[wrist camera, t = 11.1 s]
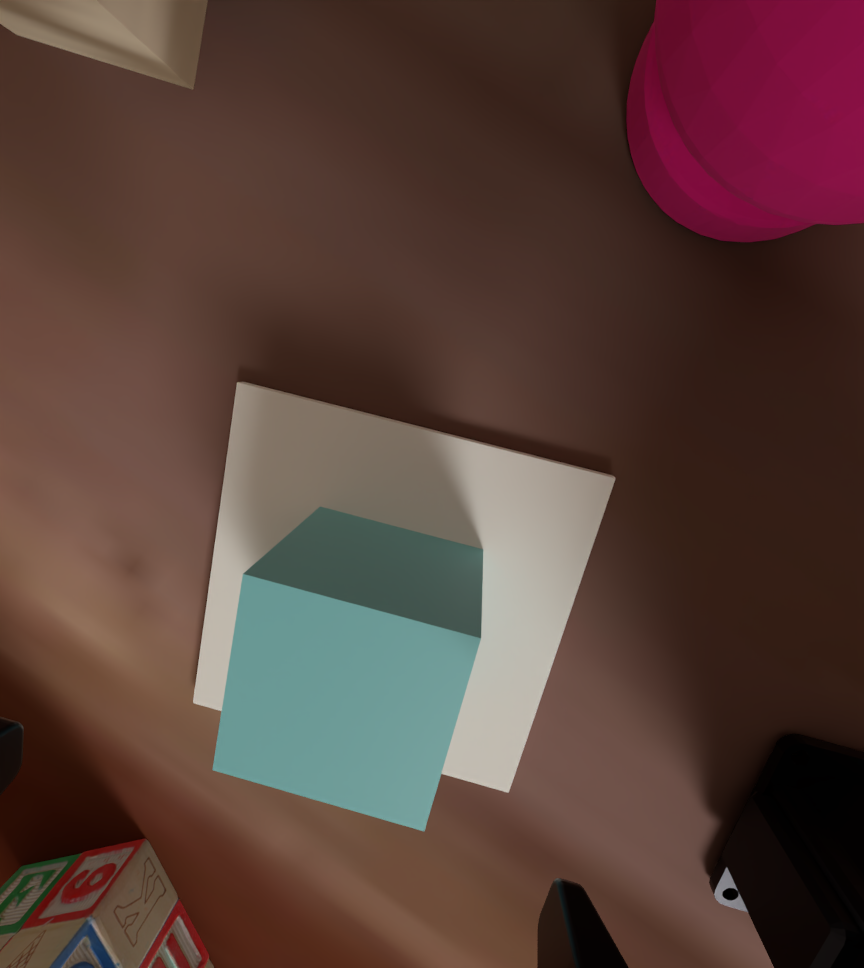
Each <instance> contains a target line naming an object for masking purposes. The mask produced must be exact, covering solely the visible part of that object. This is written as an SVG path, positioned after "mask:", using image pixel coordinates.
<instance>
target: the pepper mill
mask: <svg viewBox="0 0 864 968" xmlns="http://www.w3.org/2000/svg"><path fill="white" fill-rule="evenodd" d="M626 122H627V136H628V142H629V147H630V151H631V156H632V159H633V162H634V165H635V168H636V171H637V174H638V176H639V178H640V180H641V182H642V184H643V186H644V187H645V189H646V190H647V192H648V193H649V195H650V196H651V198H652V199H653V200H654V201H655V202H656V204H657V205H658V206H659V207H660V208H661V209H662V211H664V212H665V213H666V214H667V215H668V216H670V217H671V218H672V219H673V220H675V221H676V222H677V223H679V224H681V225H683V226H684V227H686V228H688V229H690V230H692V231H694V232H696V233H698V234H700V235H703V236H707V237H710V238H714V239H717V240H720V241H732V242H757V241H764V240H772V239H777V238H780V237H783V236H786V235H789V234H792V233H795V232H798V231H801V230H803V229H806V228H808V227H810V226H813V225H815V224H827V225H845V224H858V223H864V0H656V7H655V17H654V22H653V24H652V26H651V28H650V30H649V32H648V34H647V36H646V38H645V40H644V42H643V45H642V47H641V50H640V52H639V55H638V57H637V60H636V63H635V66H634V69H633V73H632V76H631V80H630V86H629V92H628V98H627V118H626Z"/></svg>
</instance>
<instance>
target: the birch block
mask: <svg viewBox="0 0 864 968" xmlns="http://www.w3.org/2000/svg"><path fill="white" fill-rule="evenodd" d="M207 2H208V0H0V24H1V25H3V26H4V27H6V28H7V29H9V30H10V31H12V32H13V33H14V34H16V35H18V36H22V37H25V38H28V39H31V40H35V41H38V42H41V43H44V44H48V45H51V46H54V47H57V48H60V49H64V50H67V51H70V52H73V53H77V54H80V55H83V56H86V57H89V58H93V59H96V60H99V61H102V62H106V63H109V64H112V65H115V66H119V67H122V68H125V69H128V70H131V71H135V72H138V73H141V74H144V75H148V76H151V77H154V78H157V79H160V80H164V81H167V82H170V83H173V84H177V85H180V86H183V87H186V88H189V89H193V90H194V84H195V77H196V71H197V65H198V59H199V52H200V46H201V40H202V33H203V27H204V21H205V15H206V8H207Z"/></svg>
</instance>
